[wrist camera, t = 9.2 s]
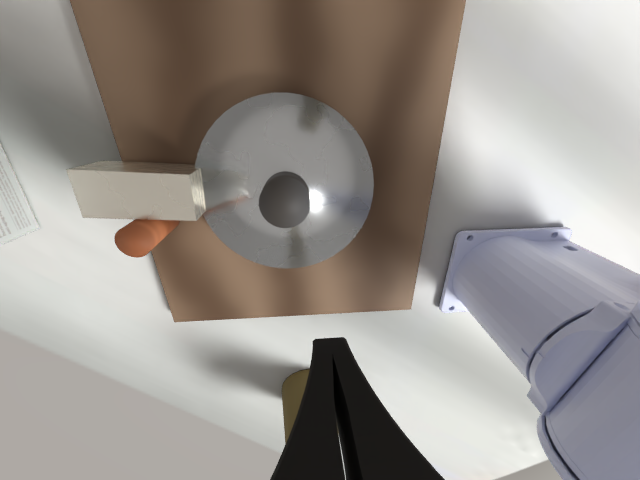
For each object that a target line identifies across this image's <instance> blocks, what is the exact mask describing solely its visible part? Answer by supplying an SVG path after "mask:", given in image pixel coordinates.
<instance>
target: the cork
mask: <svg viewBox="0 0 640 480" xmlns="http://www.w3.org/2000/svg"><path fill="white" fill-rule="evenodd" d="M309 370H310V369H306V370H300V371H298V372H296V373H293V374H292V375H290V376H289V377H288V378H286V380H285V381H284V383H283V385H282V401H283V415H284V428H285V442H287V440H288V438H289V435H290V432H291V430H292V427H293V424H294V422H295V419H296V416H297V413H298V410H299V407H300V404H301V400H302V397H303V394H304V390H305V387H306V383H307V379H308V375H309ZM337 429H338V427H337ZM338 436H339V435H338Z"/></svg>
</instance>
